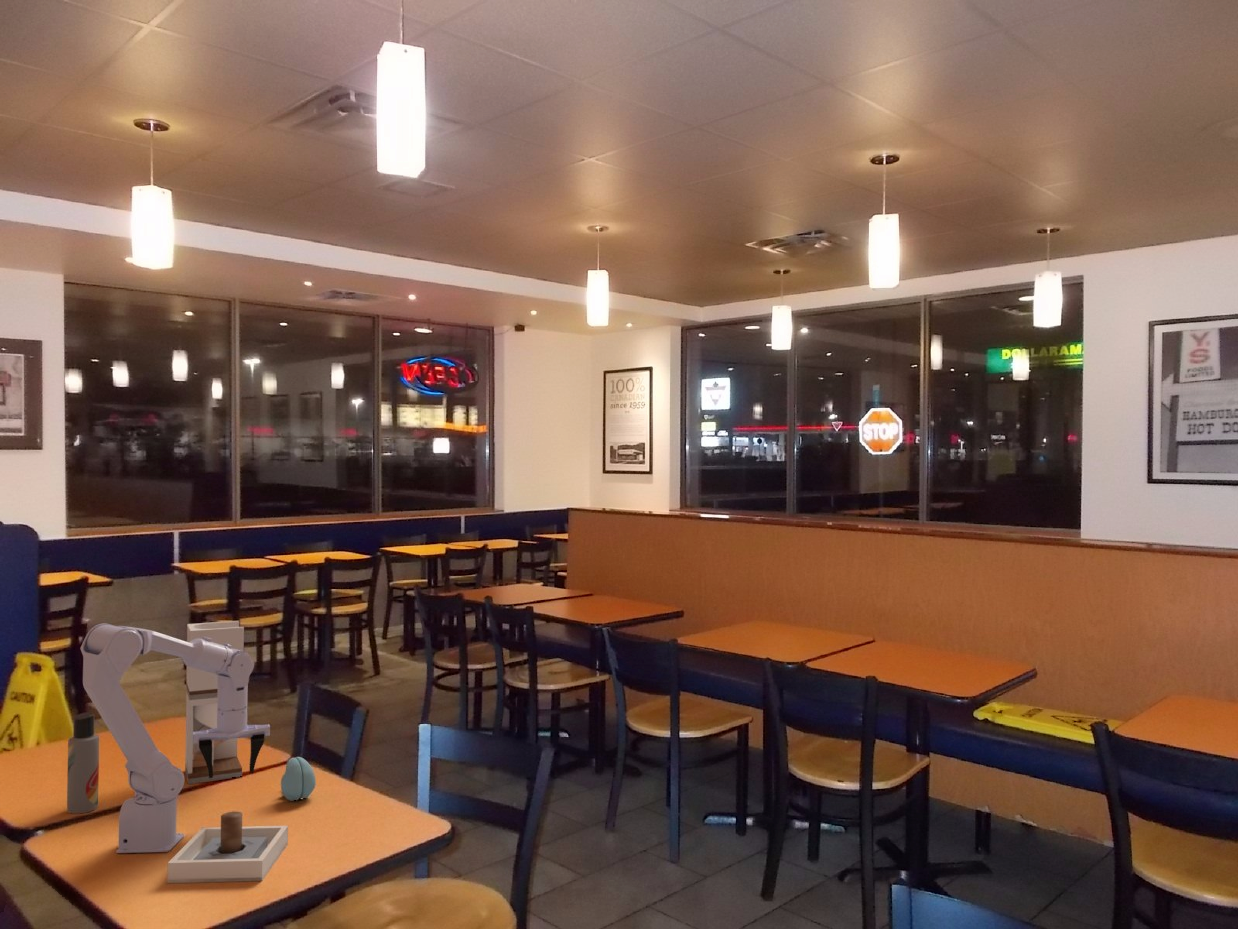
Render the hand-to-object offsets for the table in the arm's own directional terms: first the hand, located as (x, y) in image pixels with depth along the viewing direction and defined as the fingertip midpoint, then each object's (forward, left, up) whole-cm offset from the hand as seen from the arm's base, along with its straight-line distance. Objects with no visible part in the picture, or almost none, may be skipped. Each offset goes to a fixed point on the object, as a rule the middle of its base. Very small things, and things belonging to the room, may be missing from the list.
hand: (231, 774), depth 187 cm
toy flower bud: (+9, +14, -10) cm, 19 cm away
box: (+7, -21, -9) cm, 24 cm away
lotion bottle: (-33, +8, -10) cm, 35 cm away
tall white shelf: (-14, +30, -10) cm, 34 cm away
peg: (+7, -21, -9) cm, 24 cm away
